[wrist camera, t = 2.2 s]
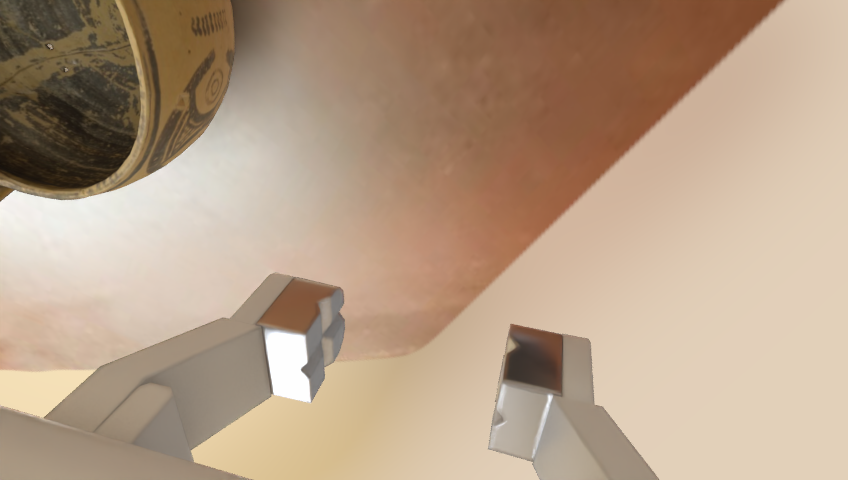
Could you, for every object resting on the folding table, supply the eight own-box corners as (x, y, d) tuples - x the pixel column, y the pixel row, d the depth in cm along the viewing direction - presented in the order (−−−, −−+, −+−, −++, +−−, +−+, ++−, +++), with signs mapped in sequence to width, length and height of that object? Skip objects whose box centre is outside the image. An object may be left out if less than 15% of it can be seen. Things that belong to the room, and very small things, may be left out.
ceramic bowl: (24, -373, 21) (-757, -825, 9) (360, -130, 23) (106, -216, 10) (9, 73, 33) (-323, 152, 21) (226, 211, 35) (37, 360, 22)
